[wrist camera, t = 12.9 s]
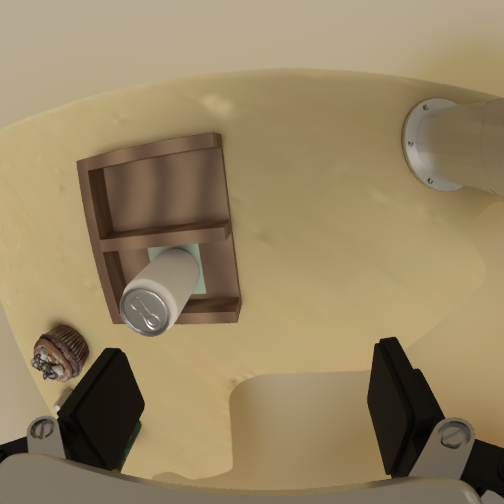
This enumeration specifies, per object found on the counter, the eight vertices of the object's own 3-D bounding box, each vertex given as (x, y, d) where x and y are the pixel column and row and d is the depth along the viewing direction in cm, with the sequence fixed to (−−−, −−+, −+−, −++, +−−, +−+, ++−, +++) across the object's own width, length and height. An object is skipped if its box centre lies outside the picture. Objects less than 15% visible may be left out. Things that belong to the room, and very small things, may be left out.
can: (178, 300, 43) (147, 349, 32) (146, 266, 42) (105, 306, 30) (210, 273, 41) (186, 320, 30) (177, 237, 40) (140, 271, 29)
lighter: (68, 398, 55) (51, 421, 48) (62, 393, 55) (45, 415, 47) (79, 387, 53) (61, 412, 46) (73, 382, 53) (54, 406, 46)
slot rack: (220, 134, 37) (212, 132, 32) (241, 304, 44) (237, 322, 39) (96, 158, 39) (76, 161, 34) (127, 307, 46) (113, 323, 41)
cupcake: (47, 340, 50) (19, 368, 41) (59, 311, 47) (27, 339, 38) (83, 372, 52) (59, 404, 42) (99, 345, 49) (72, 379, 39)
